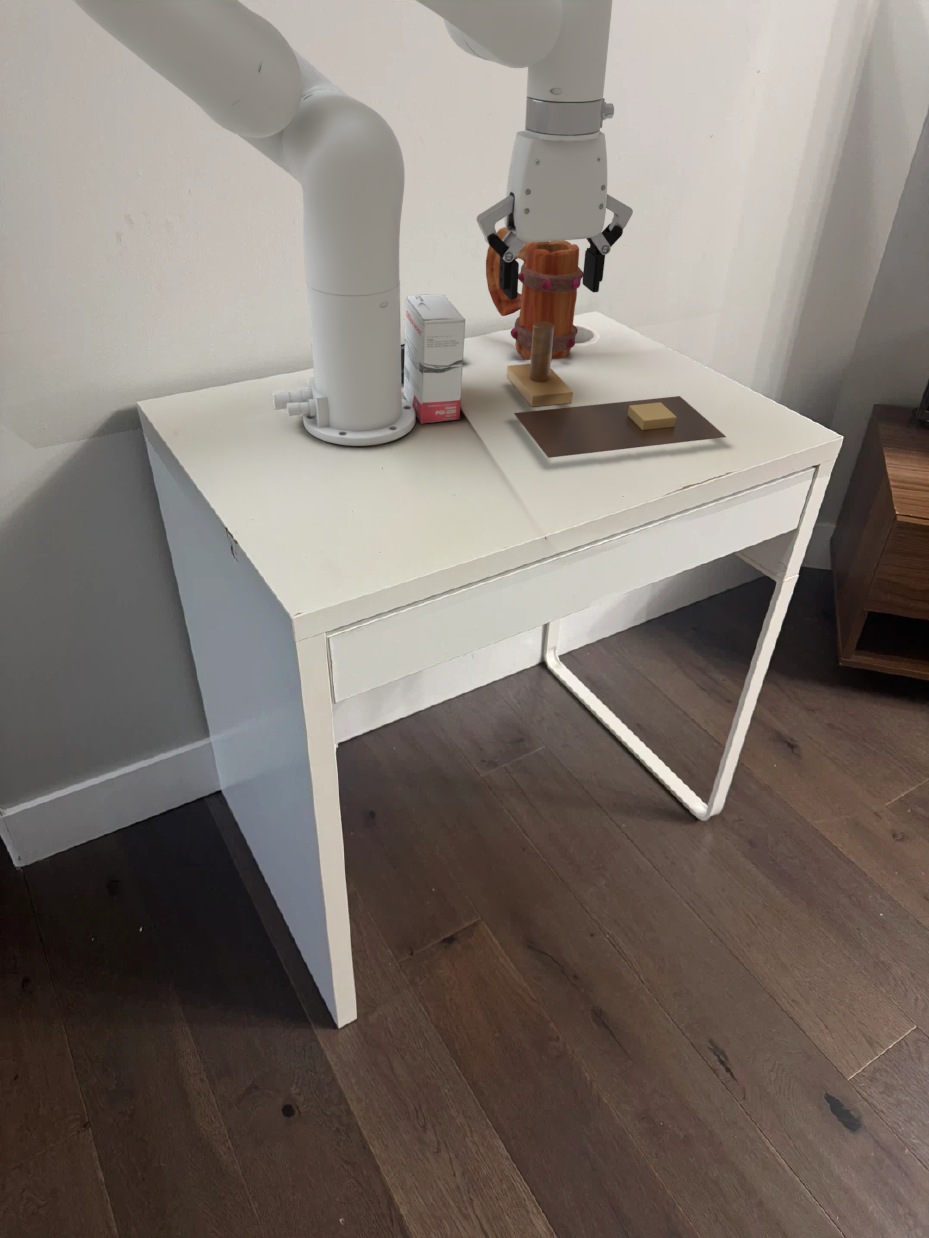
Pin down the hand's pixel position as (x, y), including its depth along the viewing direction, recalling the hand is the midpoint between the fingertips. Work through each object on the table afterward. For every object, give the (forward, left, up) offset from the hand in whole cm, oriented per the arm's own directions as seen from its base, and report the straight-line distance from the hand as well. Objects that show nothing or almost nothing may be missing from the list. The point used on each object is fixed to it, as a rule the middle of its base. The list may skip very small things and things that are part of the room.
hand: (550, 292), depth 98 cm
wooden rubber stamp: (0, 0, -13) cm, 13 cm away
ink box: (-13, 0, -13) cm, 19 cm away
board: (+5, -11, -13) cm, 17 cm away
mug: (+4, +14, -13) cm, 20 cm away
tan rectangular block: (+9, -11, -11) cm, 18 cm away
